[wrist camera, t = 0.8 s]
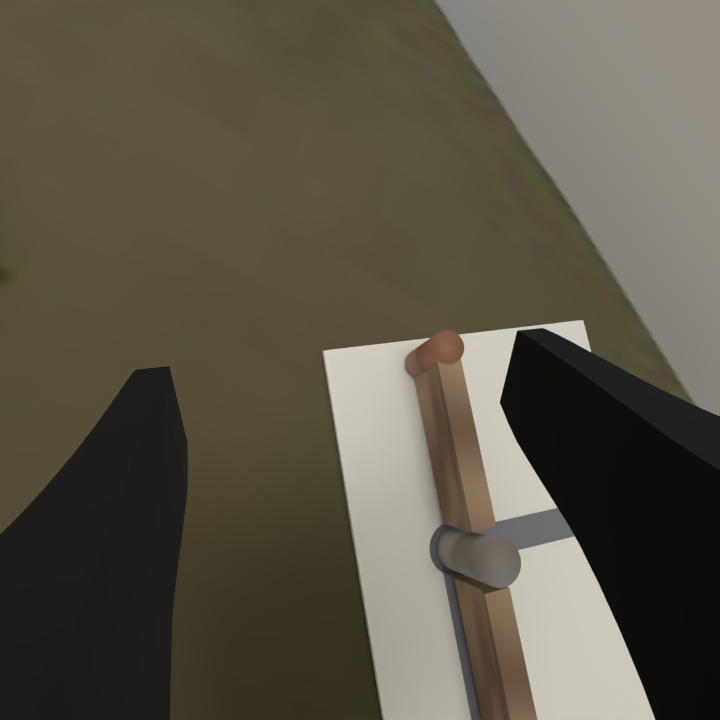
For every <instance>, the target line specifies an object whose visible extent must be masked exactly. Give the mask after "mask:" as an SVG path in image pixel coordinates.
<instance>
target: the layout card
mask: <svg viewBox="0 0 720 720" xmlns="http://www.w3.org/2000/svg"><path fill="white" fill-rule="evenodd" d="M537 328H544V329H547V330H549V331H551V332H553V333H555V334H558V335H560V336H562V337H564V338H565V339H567V340H569V341H571V342H573V343H575V344H577V345H579V346H581V347H582V348H584V349H586V350H588V351H590V352H591V349H590V346H589V342H588V338H587V334H586V330H585V326H584V322H583V320H579V321H571V322H562V323H554V324H545V325H537V326H528V327H520V328H512V329H503V330H495V331H486V332H478V333H469V334H461V335H459V336H460V337H461V339H462V340H463V343H464V353H463V356H462V357H461V361H462V366H463V371H464V375H465V380H466V385H467V390H468V394H469V399H470V404H471V409H472V413H473V418H474V423H475V427H476V432H477V437H478V442H479V446H480V451H481V456H482V460H483V465H484V470H485V475H486V479H487V484H488V489H489V494H490V498H491V503H492V508H493V512H494V517H495V522H496V527H492V528H487V529H483V530H479V531H474V532H477V533H481V534H486V535H491V536H496V537H500V538H504V539H507V540H509V541H510V542H512V543H513V544H514V545H515V547H516V548H517V550H518V552H519V554H520V558H521V569H520V573H519V575H518V577H517V579H516V580H515V581H514V582H513V583H512V584H511V585H509V586H507V587H509V588H510V593H511V597H512V602H513V607H514V612H515V616H516V621H517V626H518V630H519V635H520V640H521V645H522V649H523V654H524V659H525V664H526V668H527V673H528V678H529V682H530V687H531V692H532V697H533V701H534V706H535V711H536V715H537V720H655V718H654V715H653V712H652V710H651V707H650V704H649V702H648V699H647V696H646V693H645V691H644V688H643V685H642V683H641V680H640V678H639V676H638V673H637V671H636V668H635V666H634V663H633V661H632V659H631V656H630V654H629V651H628V649H627V647H626V644H625V642H624V639H623V637H622V634H621V632H620V630H619V627H618V625H617V623H616V621H615V619H614V616H613V614H612V612H611V610H610V608H609V605H608V603H607V601H606V599H605V597H604V594H603V592H602V590H601V588H600V585H599V583H598V581H597V579H596V577H595V575H594V573H593V571H592V569H591V567H590V565H589V563H588V561H587V559H586V557H585V555H584V553H583V551H582V549H581V547H580V545H579V543H578V541H577V539H576V538H575V536H574V534H573V532H572V531H571V529H570V527H569V525H568V524H567V522H566V520H565V519H564V517H563V516H562V514H561V512H560V511H559V509H558V508H557V506H556V504H555V503H554V501H553V500H552V498H551V497H550V495H549V493H548V492H547V490H546V489H545V487H544V485H543V484H542V482H541V481H540V479H539V477H538V476H537V474H536V473H535V471H534V469H533V468H532V466H531V464H530V463H529V461H528V460H527V458H526V456H525V455H524V453H523V451H522V450H521V448H520V446H519V445H518V443H517V441H516V439H515V437H514V435H513V433H512V430H511V428H510V426H509V424H508V422H507V419H506V417H505V414H504V412H503V409H502V407H501V405H500V399H501V395H502V391H503V387H504V383H505V379H506V374H507V370H508V366H509V362H510V358H511V354H512V350H513V345H514V341H515V337H516V333H517V330H527V329H537ZM428 339H430V338H427V339H418V340H410V341H401V342H393V343H385V344H376V345H368V346H359V347H351V348H342V349H334V350H325V351H323V352H322V355H323V361H324V367H325V373H326V380H327V386H328V392H329V398H330V404H331V410H332V416H333V422H334V428H335V435H336V441H337V447H338V453H339V459H340V465H341V471H342V477H343V484H344V490H345V496H346V502H347V508H348V514H349V520H350V526H351V532H352V539H353V545H354V551H355V557H356V563H357V569H358V575H359V581H360V587H361V594H362V600H363V606H364V612H365V618H366V624H367V630H368V636H369V642H370V649H371V655H372V661H373V667H374V673H375V679H376V685H377V691H378V698H379V704H380V710H381V716H382V720H482V719H481V714H480V709H479V704H478V699H477V694H476V688H475V683H474V678H473V673H472V668H471V663H470V658H469V652H468V647H467V642H466V637H465V632H464V627H463V622H462V616H461V611H460V606H459V601H458V596H457V591H456V586H455V580H454V578H456V577H460V576H464V575H463V574H461V573H458V572H456V571H453V570H451V569H448V568H446V567H445V566H443V565H442V564H441V562H440V561H439V559H438V557H437V554H436V543H437V540H438V538H439V536H440V535H441V534H442V533H443V532H444V531H445V530H447V529H450V528H458V529H463V530H466V529H464V528H459V527H454V526H449V525H445V524H443V519H442V514H441V508H440V503H439V498H438V493H437V488H436V483H435V478H434V472H433V467H432V462H431V457H430V452H429V447H428V442H427V436H426V431H425V426H424V421H423V416H422V411H421V406H420V400H419V395H418V390H417V385H416V380H415V377H413V376H412V375H410V374H409V372H408V371H407V369H406V365H405V361H406V357H407V355H408V354H409V353H410V352H411V351H413V350H414V349H416V348H417V347H418V346H420V345H421V344H423V343H424V342H425V341H427V340H428Z"/></svg>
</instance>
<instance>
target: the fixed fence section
mask: <svg viewBox="0 0 720 720" xmlns="http://www.w3.org/2000/svg"><path fill="white" fill-rule="evenodd" d="M436 554H437V557H438V559H439V561H440V562H441V564H442V565H443V566H445V567H446V568H448V569H451V570H453V571H456V572H458V573H461V574H463V575H464V576H460V577H456V578H454V580H455V586H456V591H457V596H458V601H459V606H460V611H461V616H462V622H463V627H464V632H465V637H466V642H467V647H468V652H469V658H470V663H471V668H472V673H473V678H474V683H475V688H476V694H477V699H478V704H479V709H480V714H481V719H482V720H537V715H536V711H535V706H534V701H533V697H532V692H531V687H530V682H529V678H528V673H527V668H526V664H525V659H524V654H523V649H522V645H521V640H520V635H519V630H518V626H517V621H516V616H515V612H514V607H513V602H512V597H511V593H510V588H509V587H507V586H509V585H511V584H512V583H513V582H514V581H515V580H516V579H517V577H518V575H519V573H520V569H521V558H520V554H519V552H518V550H517V548H516V547H515V545H514V544H513V543H512V542H510V541H509V540H507V539H504V538H500V537H496V536H491V535H486V534H481V533H477V532H470V531H466V530H463V529H458V528H450V529H447V530H445V531H444V532H443V533H442V534H441V535H440V536H439V538H438V540H437V543H436Z"/></svg>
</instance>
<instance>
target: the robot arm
mask: <svg viewBox="0 0 720 720" xmlns="http://www.w3.org/2000/svg"><path fill="white" fill-rule="evenodd" d="M500 405H501V407H502V409H503V412H504V414H505V417H506V419H507V422H508V424H509V426H510V428H511V430H512V433H513V435H514V437H515V439H516V441H517V443H518V445H519V446H520V448H521V450H522V451H523V453H524V455H525V456H526V458H527V460H528V461H529V463H530V464H531V466H532V468H533V469H534V471H535V473H536V474H537V476H538V477H539V479H540V481H541V482H542V484H543V485H544V487H545V489H546V490H547V492H548V493H549V495H550V497H551V498H552V500H553V501H554V503H555V504H556V506H557V508H558V509H559V511H560V512H561V514H562V516H563V517H564V519H565V520H566V522H567V524H568V525H569V527H570V529H571V531H572V532H573V534H574V536H575V538H576V539H577V541H578V543H579V545H580V547H581V549H582V551H583V553H584V555H585V557H586V559H587V561H588V563H589V565H590V567H591V569H592V571H593V573H594V575H595V577H596V579H597V581H598V583H599V585H600V588H601V590H602V592H603V594H604V597H605V599H606V601H607V603H608V605H609V608H610V610H611V612H612V614H613V616H614V619H615V621H616V623H617V625H618V627H619V630H620V632H621V634H622V637H623V639H624V642H625V644H626V647H627V649H628V651H629V654H630V656H631V659H632V661H633V663H634V666H635V668H636V671H637V673H638V676H639V678H640V680H641V683H642V685H643V688H644V691H645V693H646V696H647V699H648V702H649V704H650V707H651V710H652V712H653V715H654V718H655V720H720V416H717V415H715V414H713V413H710V412H708V411H705V410H703V409H701V408H699V407H697V406H694V405H692V404H690V403H688V402H686V401H684V400H682V399H680V398H678V397H676V396H673V395H671V394H669V393H667V392H665V391H663V390H661V389H659V388H657V387H655V386H653V385H651V384H649V383H647V382H645V381H643V380H641V379H640V378H638V377H636V376H634V375H632V374H630V373H628V372H626V371H625V370H623V369H621V368H619V367H617V366H615V365H613V364H612V363H610V362H608V361H606V360H604V359H602V358H601V357H599V356H597V355H595V354H593V353H591V352H590V351H588V350H586V349H584V348H582V347H581V346H579V345H577V344H575V343H573V342H571V341H569V340H567V339H565V338H564V337H562V336H560V335H558V334H555V333H553V332H551V331H549V330H547V329H544V328H537V329H527V330H517V333H516V337H515V341H514V345H513V350H512V354H511V358H510V362H509V366H508V370H507V374H506V379H505V383H504V387H503V391H502V395H501V399H500ZM187 483H188V454H187V439H186V435H185V431H184V427H183V422H182V418H181V414H180V410H179V405H178V401H177V397H176V393H175V388H174V384H173V380H172V376H171V372H170V367H169V366H168V367H158V368H148V369H139V370H135V371H134V372H133V373H132V374H131V376H130V377H129V379H128V380H127V381H126V383H125V384H124V386H123V387H122V389H121V390H120V392H119V393H118V395H117V396H116V397H115V399H114V400H113V402H112V403H111V405H110V406H109V407H108V409H107V410H106V412H105V413H104V414H103V416H102V417H101V419H100V420H99V421H98V423H97V424H96V425H95V427H94V428H93V429H92V431H91V432H90V433H89V434H88V436H87V437H86V438H85V440H84V441H83V442H82V444H81V445H80V446H79V448H78V449H77V450H76V451H75V453H74V454H73V455H72V456H71V458H70V459H69V460H68V461H67V462H66V463H65V465H64V466H63V467H62V468H61V469H60V471H59V472H58V473H57V474H56V475H55V476H54V478H53V479H52V480H51V481H50V482H49V483H48V485H47V486H46V487H45V488H44V489H43V490H42V492H41V493H40V494H39V495H38V496H37V497H36V498H35V499H34V500H33V501H32V503H31V504H30V505H29V506H28V507H27V508H26V509H25V510H24V511H23V512H22V513H21V514H20V515H19V516H18V517H17V518H16V519H15V520H14V521H13V522H12V523H11V524H10V525H9V526H8V527H7V528H6V529H5V530H4V531H3V532H2V533H1V534H0V720H170V677H171V639H172V615H173V603H174V593H175V585H176V577H177V569H178V562H179V554H180V546H181V538H182V530H183V522H184V514H185V506H186V497H187Z"/></svg>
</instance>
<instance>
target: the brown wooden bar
mask: <svg viewBox="0 0 720 720" xmlns="http://www.w3.org/2000/svg"><path fill="white" fill-rule="evenodd" d="M463 353H464V343H463V340H462V339H461V337H460V336H459V335H458V334H457V333H455V332H454V331H451V330H442V331H440V332H438V333H437V334H435V335H434V336H433V337H431V338H430V339H428V340H427V341H425V342H424V343H423V344H421V345H420V346H418V347H417V348H416V349H414V350H413V351H411V352H410V353H409V354H408V355H407V357H406V361H405V365H406V369H407V371H408V372H409V374H410V375H412V376H413V377H415V380H416V385H417V390H418V395H419V400H420V406H421V411H422V416H423V421H424V426H425V431H426V436H427V442H428V447H429V452H430V457H431V462H432V467H433V472H434V478H435V483H436V488H437V493H438V498H439V503H440V508H441V514H442V519H443V524H445V525H449V526H454V527H459V528H464V529H466V531H470V532H474V531H479V530H483V529H487V528H492V527H496V522H495V517H494V512H493V508H492V503H491V498H490V494H489V489H488V484H487V479H486V475H485V470H484V465H483V460H482V456H481V451H480V446H479V442H478V437H477V432H476V427H475V423H474V418H473V413H472V409H471V404H470V399H469V394H468V390H467V385H466V380H465V375H464V371H463V366H462V361H461V357H462V356H463Z"/></svg>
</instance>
